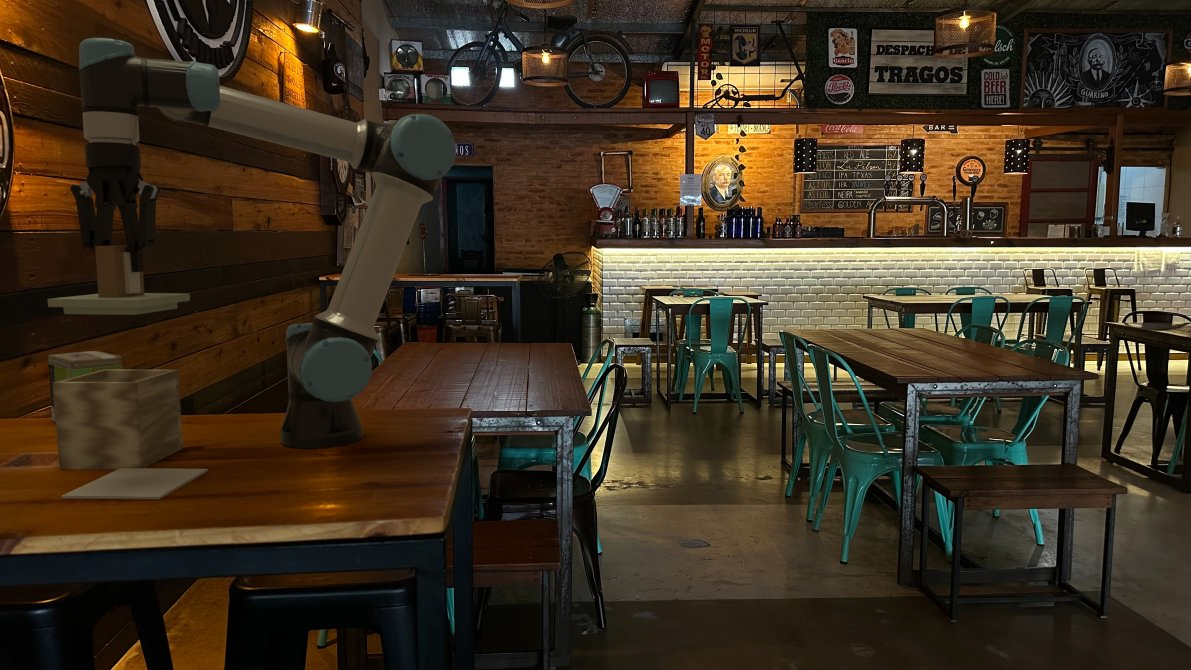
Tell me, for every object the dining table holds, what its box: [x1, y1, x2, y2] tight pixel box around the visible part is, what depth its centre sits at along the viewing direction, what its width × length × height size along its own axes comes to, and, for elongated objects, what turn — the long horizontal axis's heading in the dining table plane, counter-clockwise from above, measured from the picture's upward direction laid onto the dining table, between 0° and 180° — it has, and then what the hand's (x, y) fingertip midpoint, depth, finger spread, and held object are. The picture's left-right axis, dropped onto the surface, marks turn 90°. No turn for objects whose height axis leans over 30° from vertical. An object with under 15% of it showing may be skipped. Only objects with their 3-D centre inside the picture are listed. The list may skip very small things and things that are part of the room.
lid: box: [47, 245, 191, 316], centre depth 131 cm, size 14×14×10 cm
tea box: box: [47, 350, 124, 423], centre depth 175 cm, size 15×10×15 cm, turn 49°
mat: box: [61, 467, 209, 500], centre depth 133 cm, size 15×15×1 cm
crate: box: [53, 369, 184, 471], centre depth 147 cm, size 14×14×15 cm
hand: (122, 292), depth 132 cm, fingers closed on lid, 3 cm apart
